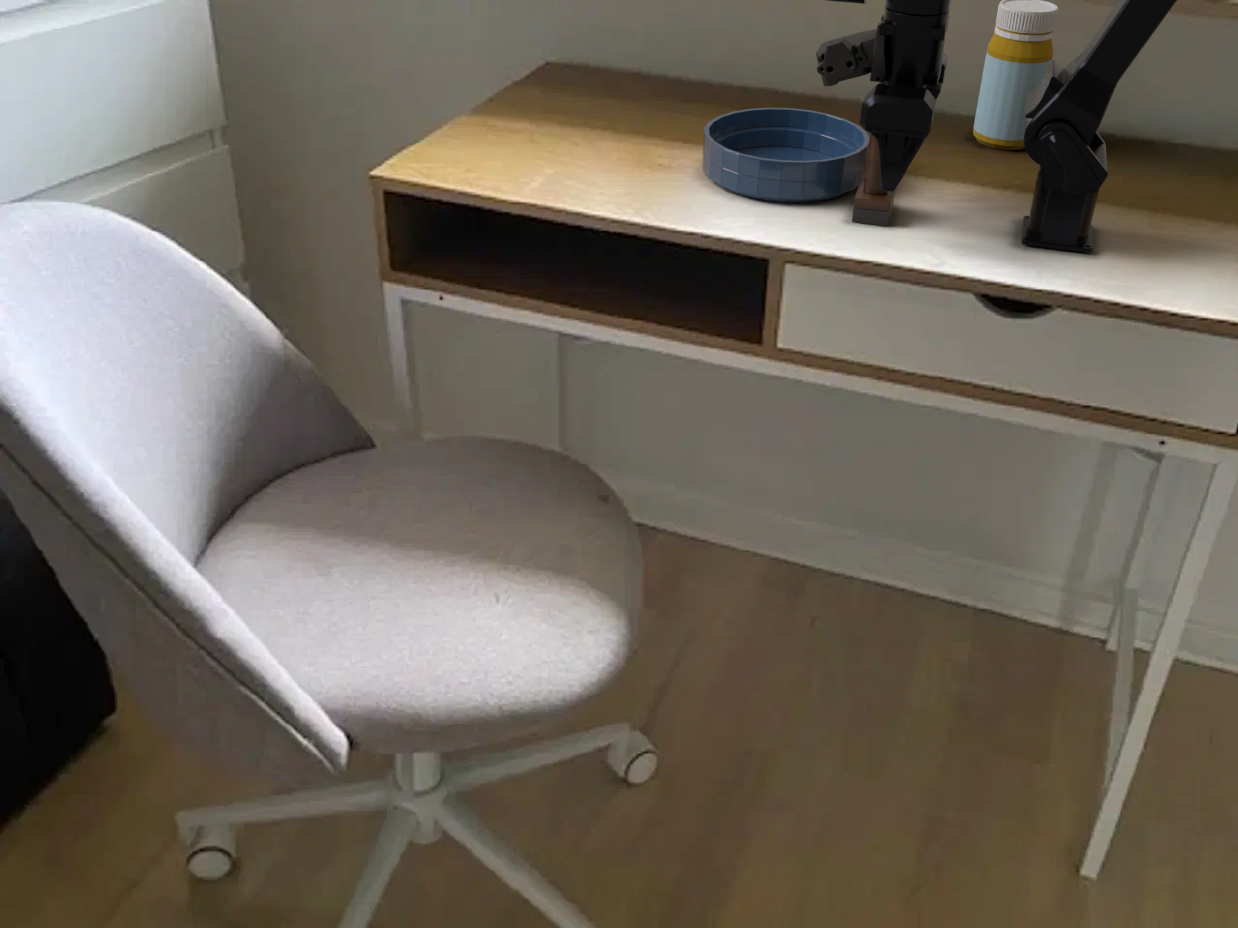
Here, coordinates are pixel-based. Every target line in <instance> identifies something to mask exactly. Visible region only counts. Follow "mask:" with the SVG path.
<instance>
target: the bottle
mask: <svg viewBox="0 0 1238 928" xmlns="http://www.w3.org/2000/svg"><path fill="white" fill-rule="evenodd" d="M1058 12H1059V6H1058V5H1056V4H1054V3H1053V2H1050V1H1047V0H1000V1H999V4H998V8H997V13H996V19H995V27H994V33H993V36H992V37H991V39H990V41H989V43H988V44H987V47H986V54H985V59H984V63H983V69H982V77H981V83H980V88H979V93H978V98H977V99H978V100H977V104H976V105H977V106H976V112H975V118H974V122H973V130H972V134H973V136H974V138H975V139H976V141H977V143H979V144H981V145H983V146H985V147H988V148H992V149H996V150H1003V151H1005V150H1006V151H1018V150H1025V145H1024V129H1025V113H1026V101H1027V94H1028V93H1030V92H1031V91H1033V90H1034V89H1035V88H1036V87H1037V86H1038V85H1039V84H1040V83H1041V81H1042V79H1043V77H1044V75H1045V73H1046V71H1047V69H1048V67H1049V65H1050V63H1051V61H1052V60H1053V56H1054V46H1053V35H1054V29H1055V27H1056V22H1057V17H1058Z"/></svg>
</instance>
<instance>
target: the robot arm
mask: <svg viewBox="0 0 1238 928" xmlns="http://www.w3.org/2000/svg"><path fill="white" fill-rule="evenodd" d="M826 1H829V2H837V3H838V2H841V3H851V4H861V5H866V3H867V1H868V0H826ZM951 2H952V0H885V6H884V11H883V12H884V13H883V14H882V15H881V19H880V22H878V24H877V26H876V28H874V29H870V30H864V31H859V32H856V33H851V34H848V35H843V36H840V37H837V38H833V39H829V40H826V41H824V42H822V43H821V44H820V45H819V47H818V49H817V50H816V52H815V56H816V59H817V67H816V71H817V73H818V74H819V75H820V76H821V80H822V84H823V86H824V87H833V86H837V85H838V84H839V83H840V82H843V81H844V82H845V81H848V80H851V79H856V78H860V77H863V76H866V75H869V74H870V76H869V82H873V83H874V82H876V85H875V86H873V87H872V88H871V89H869V90H868V91H867V92H866V93H865V96H864V98H863V101H862V103H861V109H860V116H859V117H860V118H859V125H861V128H862V129H863V130H865V131H866V132H867V133H869V134H870V133H871V134H872V135H873V136H874V137H875V138H876V140H877V142H878V149H879V158H880V168H881V177H882V187H883V190H884V191H891V192H893V191H895V192H896V189H897V188H898V186H899V184H900V182H901V181H902V179H903V177H904V176H905V174H906V172H907V170H908V169H909V167H910V166H911V164H912V162H913V160H914V158H915V157H916V155H917V154H918V152H919V150H920V148H921V147H922V146H923V144H924V142H925V140H926V139H927V137H929V134H930V132H931V130H932V125H933V121H934V115H935V109H936V103H937V99H938V97H939V95H940V94H941V91H942V88H943V84H944V81H945V77H946V72H947V65H948V59H949V58H948V55H946V53H945V52H944V47H945V41H946V37H947V36H946V34H947V31H948V29H949V21H950V10H951ZM1177 2H1178V0H1118V1H1117V2H1116V4H1115V5H1114V6H1113V8H1112V10H1111V11H1110V12H1109V14H1108V15H1107V17H1106V18H1105V19H1104V21H1103V22H1102V24H1101V25H1100V27H1099V29H1097V31H1096V33H1095V34H1094V35H1093V37H1092V38H1091V39H1090V41H1089V43H1088V44H1087V45H1086V47H1084V49H1083V51H1082V52H1081V53H1080V54H1079V55H1078V56H1077V57H1076V58H1075V59H1073V60H1072V61H1071V62H1070V63H1068V64H1067V65H1066V66H1065V67H1063V66H1062V65H1061V64H1060V63H1059V62H1058V61H1057V60H1055V59H1052V61H1051V63H1050V65H1049V67H1048V69H1047V71H1046V73H1045V75H1044V77H1043V79H1042V81H1041V83H1040V84H1039V85H1038V86H1037V87H1036V88H1035V89H1034V90H1033V91H1031V92H1030V93H1028V94H1027V101H1026V113H1025V129H1024V145H1025V148H1024V150H1025V152H1026V153H1027V155H1028V156H1029V158H1030V159H1031V160H1032V161H1033V162H1034V163H1036V164H1037V165H1038V166H1039V167H1040V168H1039V169H1038V172H1037V177H1036V182H1035V186H1034V191H1033V195H1032V201H1031V206H1030V210H1029V215H1024V216H1023V217H1022V225H1021V236H1020V237H1021V238H1020V244H1022V245H1024V246H1031V247H1039V248H1047V249H1055V250H1064V251H1071V252H1079V253H1088V254H1089V253H1093V252H1094V227H1093V224H1092V223H1093V220H1094V219H1093V218H1094V214H1095V209H1096V205H1097V201H1098V197H1099V194H1100V193H1099V192H1100V189H1101V187H1102V186H1103V184H1104V183H1105V181H1106V179H1107V178H1108V176H1109V171H1108V170H1109V169H1108V159H1107V146H1106V142H1105V141H1104V140H1103V138H1102V137H1101V135H1100V134H1099V133H1098V129H1099V127H1100V125H1101V124H1102V121H1103V119H1104V117H1105V114H1106V112H1107V109H1108V107H1109V105H1110V102H1111V99H1112V97H1113V94H1114V93H1115V90H1116V87H1117V85H1118V83H1119V82H1120V80H1121V79H1122V78H1123V76H1124V74H1125V73H1126V72H1127V70H1128V69H1129V67H1130V66H1131V65H1132V63H1134V61H1135V59H1136V58H1137V56H1138V55H1139V54H1140V52H1142V49H1143V48H1144V47H1145V45H1146V44H1147V43H1148V41H1149V40H1150V39H1151V37H1152V36H1153V34H1154V33H1155V31H1157V29H1158V27H1159V26H1160V25H1161V23H1162V22H1163V20H1165V18H1166V17H1167V15H1168V14H1169V12H1170V11H1171V10H1172V8H1173V7H1174V6H1175V4H1176V3H1177Z"/></svg>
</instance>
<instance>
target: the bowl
mask: <svg viewBox="0 0 1238 928" xmlns="http://www.w3.org/2000/svg"><path fill="white" fill-rule="evenodd" d="M869 141H870V135H869V134H868V132H867V131H865V130H864V128H863V127H862V126H860V124H859V125H858V124H856V123H855V122H853V121H851V120H848V119H847V118H844V117H839V116H836V115H833V114H829V113H825V112H821V111H814V110H810V109H802V108H801V109H800V108H792V107H789V108H788V107H759V108H748V109H741V110H735V111H731V112H728V113H724V114H721V115H718V116H717V117H715V118H713V119H711V120H709V121H708V122H707V124H706V126H705V127H704V128H703V143H702V161H701V164H702V171H703V173H704V174H705V176H706V177H707V178H708V180H711V181H712V182H713V183H715V184H717V185H719V186H720V187H721V188H723V189H725V190H727V191H729V192H732V193H734V194H737V195H740V196H744V197H747V198H751V199H756V200H760V201H761V200H762V201H767V202H778V203H810V202H820V201H825V200H830V199H835V198H836V197H840V196H842V195H844V194H846V193H848V192H850V191H853V190H855V189H857V188H858V187H859V184H860V182H861V180H862V181H864V180H865V172H866V165H867V157H868V149H869Z"/></svg>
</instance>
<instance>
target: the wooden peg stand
mask: <svg viewBox="0 0 1238 928" xmlns="http://www.w3.org/2000/svg"><path fill="white" fill-rule="evenodd" d="M869 139H870V141H869V149H868V157H867V165H866V172H865V177H864V180H863V181H862V180H861V182H860V184H859V186H857V190H856V193H855V196H854V199H853V207H852V214H851V222H852V223H859V224H866V225H873V226H882V227H888V226H889V222H890V220H891V219H890V218H891V216H892V211H893V209H894V202H895V197H896V196H895V195H896V190H895V191H893V192H891V191H884V190H883V187H882V177H881V168H880V158H879V149H878V142H877V140H876V138H875V137H874V136H873V135H872V134H871V133H870V132H869Z"/></svg>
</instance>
